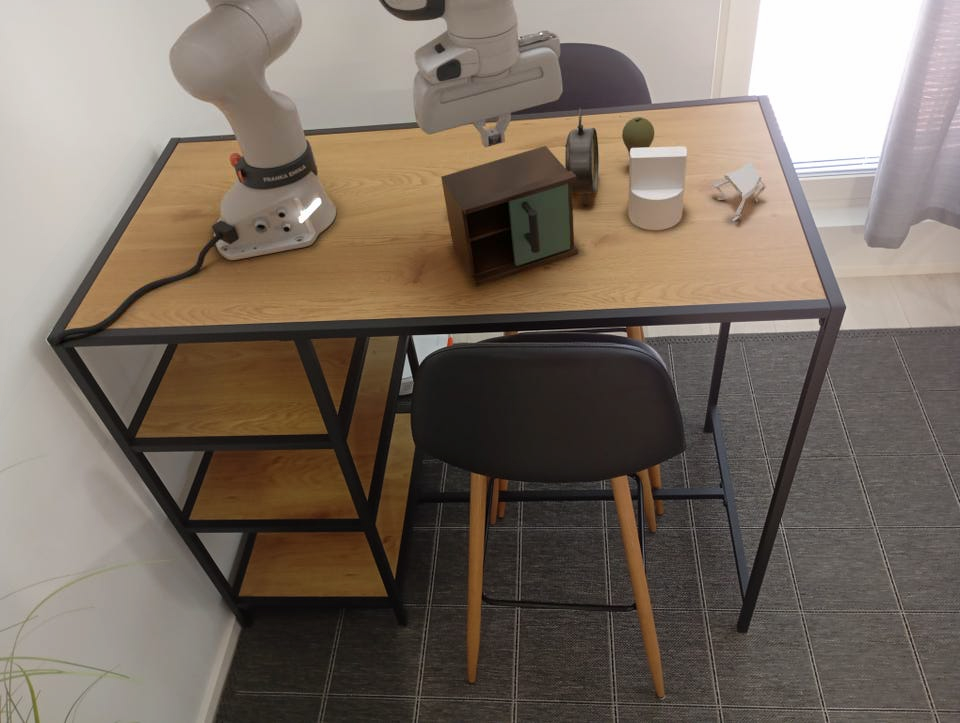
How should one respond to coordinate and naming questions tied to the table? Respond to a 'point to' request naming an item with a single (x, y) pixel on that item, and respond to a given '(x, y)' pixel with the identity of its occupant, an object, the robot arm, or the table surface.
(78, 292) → the table surface
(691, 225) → the table surface
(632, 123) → the olive green rounded piece
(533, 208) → the green sliding door
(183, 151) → the table surface
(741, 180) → the white flat-topped legged piece
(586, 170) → the alarm clock
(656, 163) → the base with upright slab
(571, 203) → the brown wooden cabinet
